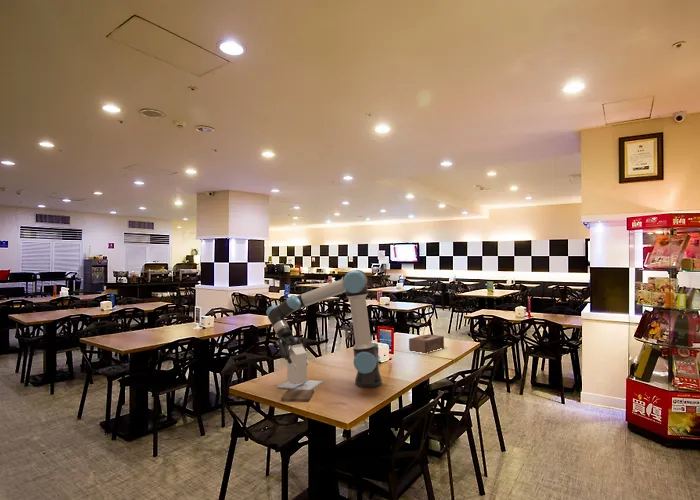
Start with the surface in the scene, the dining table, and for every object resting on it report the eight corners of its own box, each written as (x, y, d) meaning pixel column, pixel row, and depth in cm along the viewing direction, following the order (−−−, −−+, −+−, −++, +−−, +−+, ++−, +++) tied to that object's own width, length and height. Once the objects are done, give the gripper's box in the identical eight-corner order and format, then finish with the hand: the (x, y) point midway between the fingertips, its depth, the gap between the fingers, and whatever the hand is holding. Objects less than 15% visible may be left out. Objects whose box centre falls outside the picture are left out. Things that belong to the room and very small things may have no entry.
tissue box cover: (424, 354, 293) (424, 341, 293) (409, 351, 303) (408, 338, 303) (444, 349, 310) (443, 336, 311) (428, 346, 321) (428, 334, 321)
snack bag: (293, 379, 234) (293, 376, 234) (324, 383, 227) (324, 379, 227) (275, 389, 217) (275, 385, 217) (308, 393, 209) (308, 389, 209)
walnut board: (314, 392, 209) (313, 389, 209) (308, 401, 195) (308, 398, 195) (288, 392, 210) (288, 389, 210) (280, 401, 196) (280, 398, 196)
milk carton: (306, 381, 203) (306, 344, 204) (296, 385, 198) (295, 346, 199) (298, 379, 208) (297, 342, 209) (287, 382, 203) (287, 344, 203)
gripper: (295, 332, 222) (313, 367, 210) (263, 337, 208) (281, 374, 195) (300, 324, 218) (319, 358, 206) (269, 328, 204) (287, 365, 192)
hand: (301, 366), depth 201 cm, fingers closed on milk carton, 7 cm apart
